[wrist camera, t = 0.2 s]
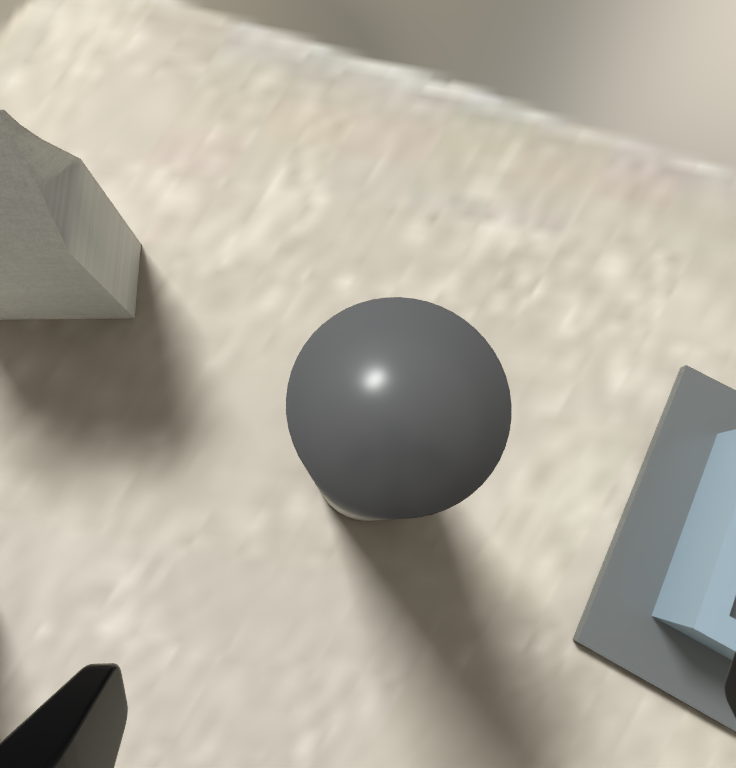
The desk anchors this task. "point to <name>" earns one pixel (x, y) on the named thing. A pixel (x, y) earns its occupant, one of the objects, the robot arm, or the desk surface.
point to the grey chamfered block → (59, 236)
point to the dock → (676, 555)
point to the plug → (397, 409)
